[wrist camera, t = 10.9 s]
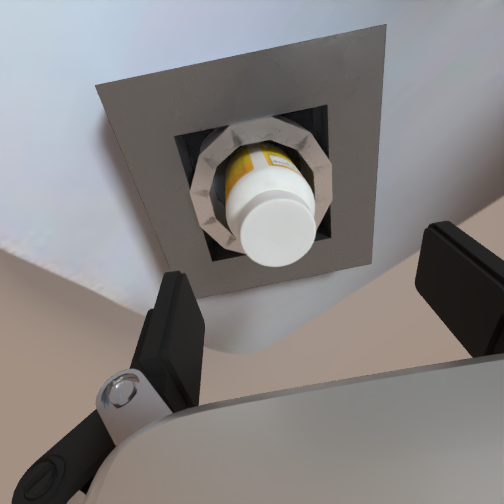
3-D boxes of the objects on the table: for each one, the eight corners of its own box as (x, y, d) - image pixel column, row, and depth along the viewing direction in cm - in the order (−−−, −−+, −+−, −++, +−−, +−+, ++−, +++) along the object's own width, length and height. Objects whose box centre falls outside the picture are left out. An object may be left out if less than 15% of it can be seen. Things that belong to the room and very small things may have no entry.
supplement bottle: (287, 133, 21) (328, 173, 13) (295, 199, 24) (333, 265, 16) (216, 149, 22) (214, 199, 13) (232, 214, 24) (239, 286, 16)
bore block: (360, 30, 18) (391, 22, 15) (355, 242, 27) (374, 267, 24) (114, 82, 19) (91, 86, 15) (187, 275, 27) (182, 305, 24)
